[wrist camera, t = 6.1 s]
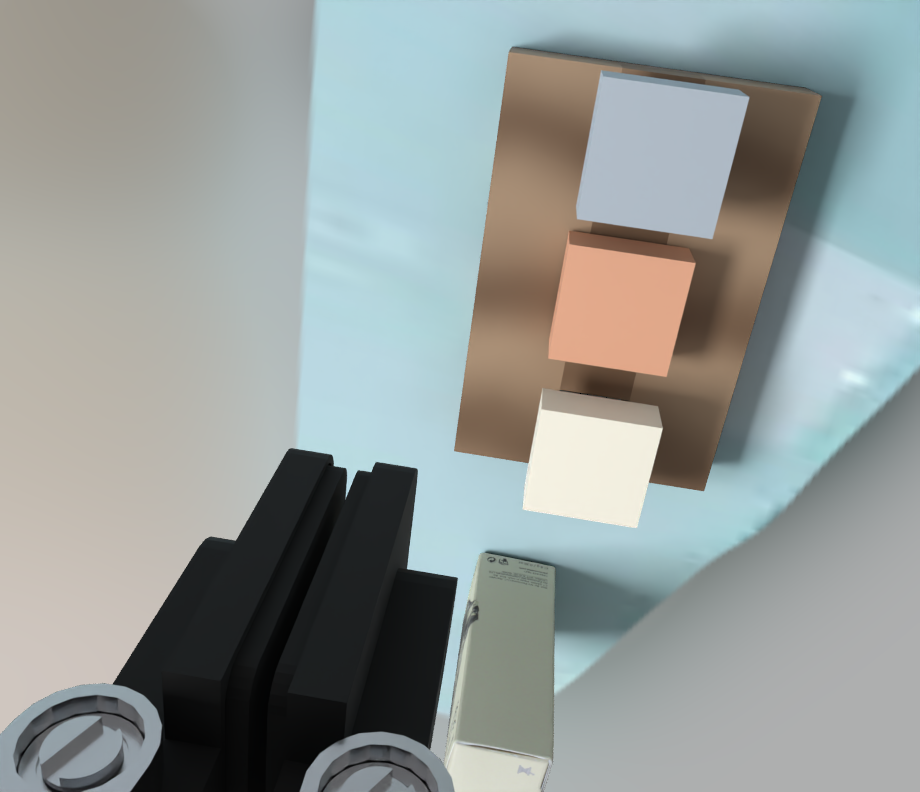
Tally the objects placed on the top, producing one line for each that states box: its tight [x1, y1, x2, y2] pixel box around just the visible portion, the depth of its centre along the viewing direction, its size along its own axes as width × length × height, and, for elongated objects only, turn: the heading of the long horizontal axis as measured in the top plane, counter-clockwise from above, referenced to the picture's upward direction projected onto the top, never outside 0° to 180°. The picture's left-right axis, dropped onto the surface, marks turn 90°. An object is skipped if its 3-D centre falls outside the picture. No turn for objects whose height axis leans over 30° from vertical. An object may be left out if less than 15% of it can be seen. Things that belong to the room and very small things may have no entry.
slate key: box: [576, 70, 749, 239], centre depth 33 cm, size 5×5×4 cm
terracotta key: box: [548, 231, 696, 377], centre depth 37 cm, size 5×5×4 cm
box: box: [444, 553, 556, 792], centre depth 42 cm, size 5×4×13 cm
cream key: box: [523, 388, 663, 528], centre depth 38 cm, size 5×5×4 cm
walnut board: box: [454, 47, 822, 491], centre depth 38 cm, size 18×12×2 cm, turn 173°
